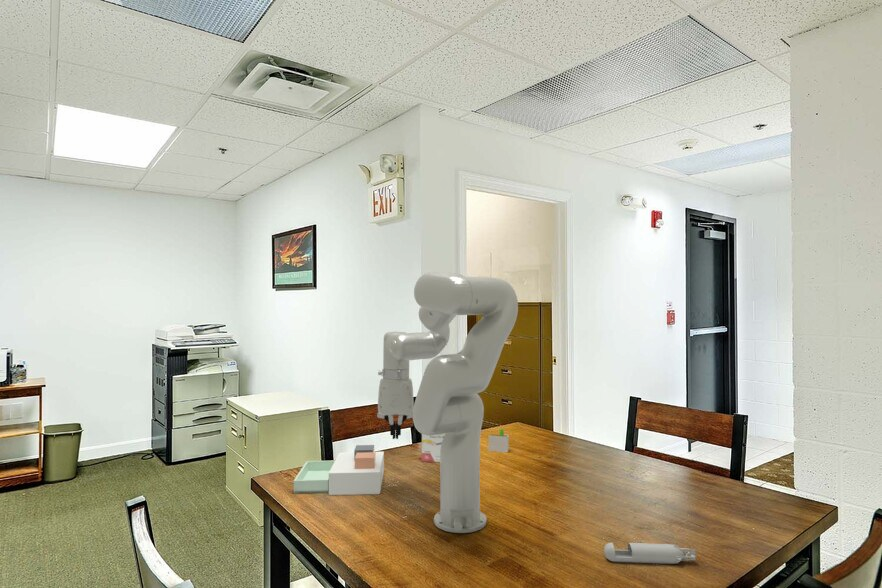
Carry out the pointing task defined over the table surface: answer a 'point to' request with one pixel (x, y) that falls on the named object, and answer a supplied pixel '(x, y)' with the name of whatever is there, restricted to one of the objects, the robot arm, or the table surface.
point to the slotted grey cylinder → (649, 553)
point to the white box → (355, 476)
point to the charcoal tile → (363, 449)
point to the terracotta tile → (365, 460)
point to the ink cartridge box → (431, 447)
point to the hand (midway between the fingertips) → (395, 437)
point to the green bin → (313, 477)
